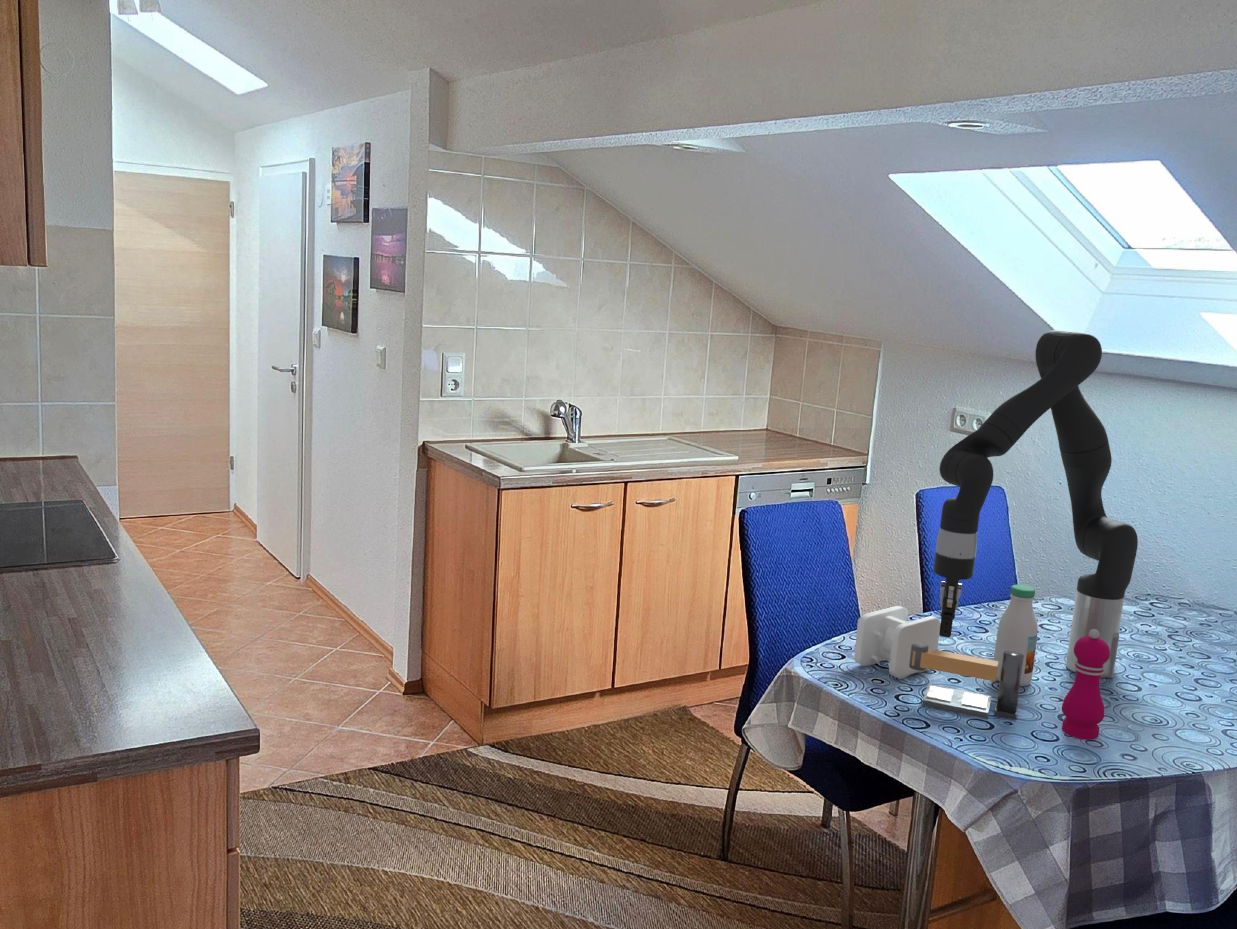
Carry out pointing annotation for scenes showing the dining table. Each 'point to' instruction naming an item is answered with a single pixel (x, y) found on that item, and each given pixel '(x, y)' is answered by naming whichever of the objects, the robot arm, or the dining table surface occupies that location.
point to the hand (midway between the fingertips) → (944, 635)
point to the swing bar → (952, 663)
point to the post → (1009, 685)
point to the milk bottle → (1018, 631)
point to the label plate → (957, 701)
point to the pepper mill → (1086, 689)
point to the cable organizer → (893, 639)
